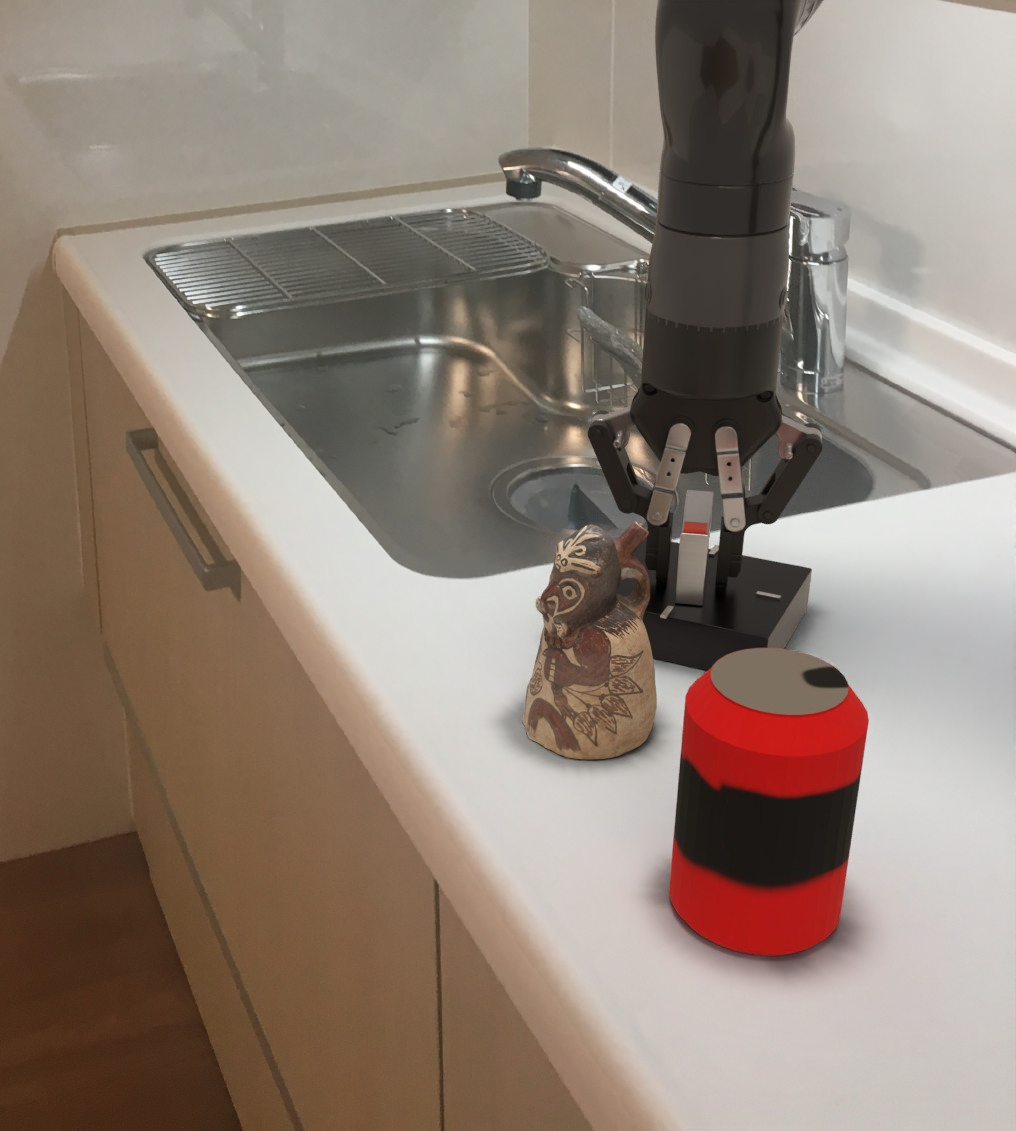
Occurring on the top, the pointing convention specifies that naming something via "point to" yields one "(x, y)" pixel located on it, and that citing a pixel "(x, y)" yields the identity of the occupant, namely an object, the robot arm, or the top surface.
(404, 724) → the top surface
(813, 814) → the soda can
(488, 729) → the top surface
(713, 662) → the tap plate
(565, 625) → the figurine
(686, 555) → the grey rectangular block
